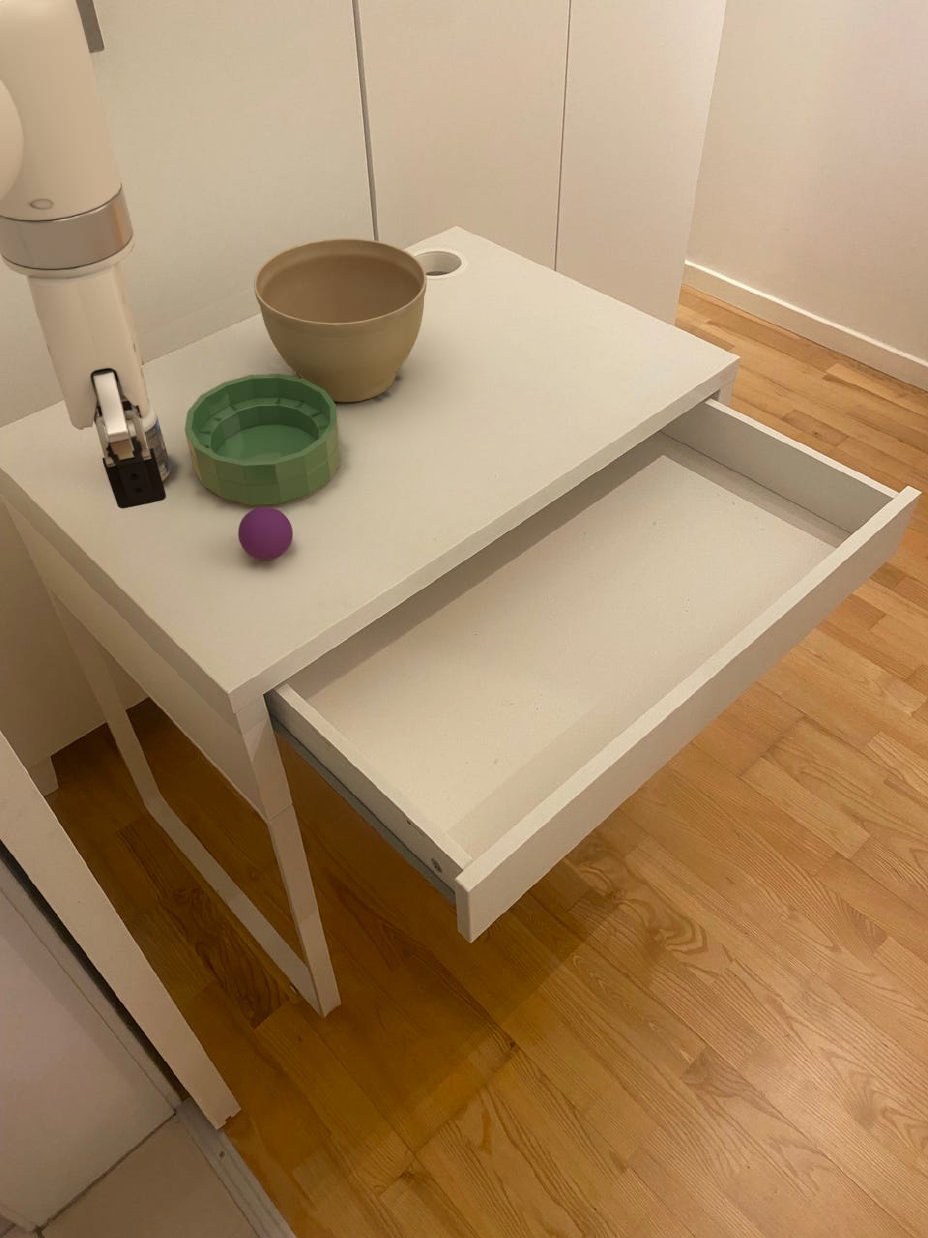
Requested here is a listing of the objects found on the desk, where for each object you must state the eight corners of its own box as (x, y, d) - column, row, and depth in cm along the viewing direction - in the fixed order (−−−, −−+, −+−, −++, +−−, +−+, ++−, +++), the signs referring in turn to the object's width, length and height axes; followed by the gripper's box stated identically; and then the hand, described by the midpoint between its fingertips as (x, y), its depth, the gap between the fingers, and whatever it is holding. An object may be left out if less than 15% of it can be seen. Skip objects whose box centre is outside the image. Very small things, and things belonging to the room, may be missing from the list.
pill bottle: (182, 472, 87) (162, 395, 81) (137, 497, 85) (113, 419, 79) (151, 449, 89) (129, 372, 83) (107, 473, 87) (81, 395, 81)
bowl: (170, 491, 85) (157, 446, 82) (235, 407, 94) (227, 363, 90) (307, 522, 83) (301, 478, 79) (361, 433, 92) (358, 389, 88)
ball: (233, 564, 80) (224, 525, 76) (256, 530, 82) (248, 490, 79) (282, 576, 79) (275, 537, 75) (303, 541, 82) (298, 502, 78)
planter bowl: (439, 341, 102) (439, 243, 94) (411, 432, 92) (409, 331, 84) (293, 326, 104) (280, 228, 96) (248, 415, 93) (230, 313, 85)
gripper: (-13, 168, 59) (67, 399, 72) (-1, 309, 49) (90, 551, 61) (112, 153, 61) (168, 380, 74) (149, 286, 50) (208, 525, 63)
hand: (133, 458), depth 68 cm, fingers open, 9 cm apart
